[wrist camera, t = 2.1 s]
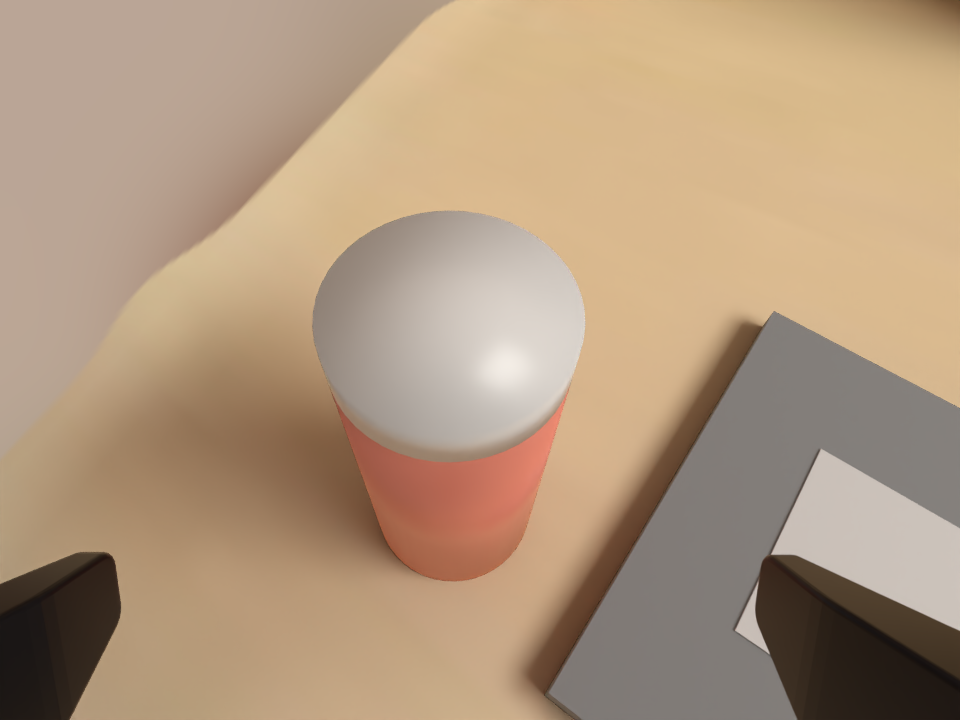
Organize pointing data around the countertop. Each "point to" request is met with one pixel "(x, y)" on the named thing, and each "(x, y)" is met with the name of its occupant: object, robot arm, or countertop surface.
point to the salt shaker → (450, 379)
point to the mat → (773, 531)
